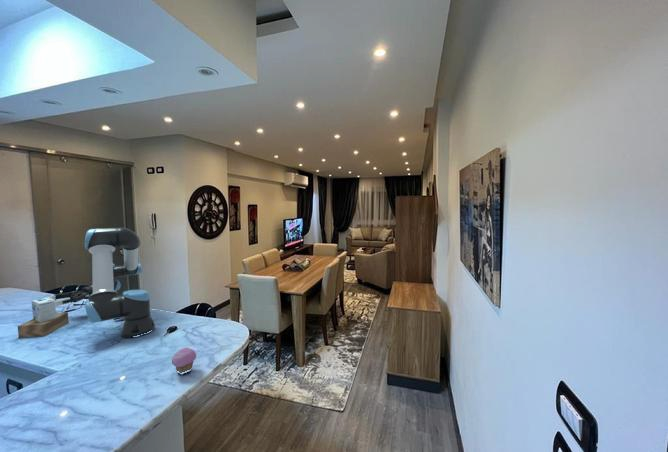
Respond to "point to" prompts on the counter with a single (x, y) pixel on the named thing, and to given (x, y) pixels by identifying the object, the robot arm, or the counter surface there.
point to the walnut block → (42, 326)
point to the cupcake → (184, 359)
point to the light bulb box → (43, 309)
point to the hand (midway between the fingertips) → (47, 302)
